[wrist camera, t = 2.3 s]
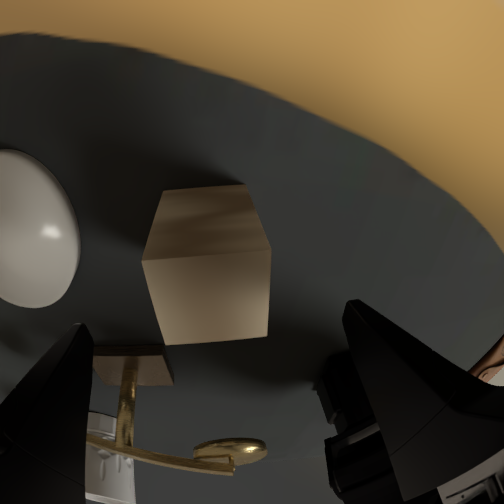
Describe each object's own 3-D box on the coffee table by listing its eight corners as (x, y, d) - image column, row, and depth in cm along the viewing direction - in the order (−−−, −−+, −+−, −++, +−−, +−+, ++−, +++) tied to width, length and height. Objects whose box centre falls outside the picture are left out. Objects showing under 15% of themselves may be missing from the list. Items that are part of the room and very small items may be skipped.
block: (245, 184, 14) (271, 250, 9) (246, 253, 16) (267, 336, 11) (163, 190, 13) (141, 260, 8) (173, 259, 16) (165, 345, 11)
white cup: (67, 402, 23) (55, 484, 14) (135, 417, 25) (134, 502, 17) (79, 428, 27) (73, 495, 18) (137, 439, 29) (137, 508, 20)
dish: (59, 128, 11) (47, 133, 10) (101, 292, 16) (96, 306, 15) (-52, 171, 9) (-63, 178, 8) (-5, 296, 15) (-12, 307, 14)
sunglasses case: (509, 327, 32) (527, 352, 29) (503, 320, 38) (520, 343, 34) (438, 396, 39) (456, 418, 36) (440, 383, 45) (457, 403, 41)
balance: (247, 335, 20) (273, 460, 12) (248, 370, 22) (268, 476, 14) (29, 341, 17) (-1, 437, 10) (52, 373, 20) (33, 461, 12)
